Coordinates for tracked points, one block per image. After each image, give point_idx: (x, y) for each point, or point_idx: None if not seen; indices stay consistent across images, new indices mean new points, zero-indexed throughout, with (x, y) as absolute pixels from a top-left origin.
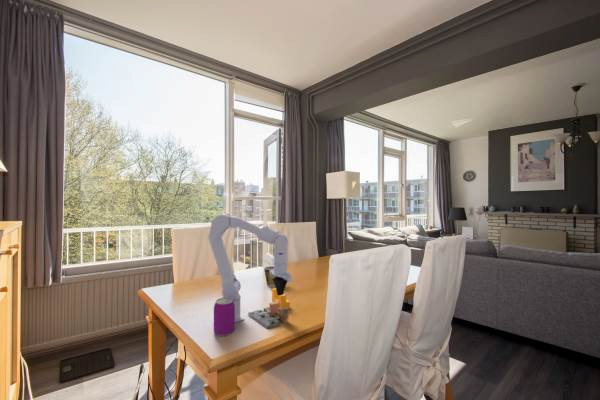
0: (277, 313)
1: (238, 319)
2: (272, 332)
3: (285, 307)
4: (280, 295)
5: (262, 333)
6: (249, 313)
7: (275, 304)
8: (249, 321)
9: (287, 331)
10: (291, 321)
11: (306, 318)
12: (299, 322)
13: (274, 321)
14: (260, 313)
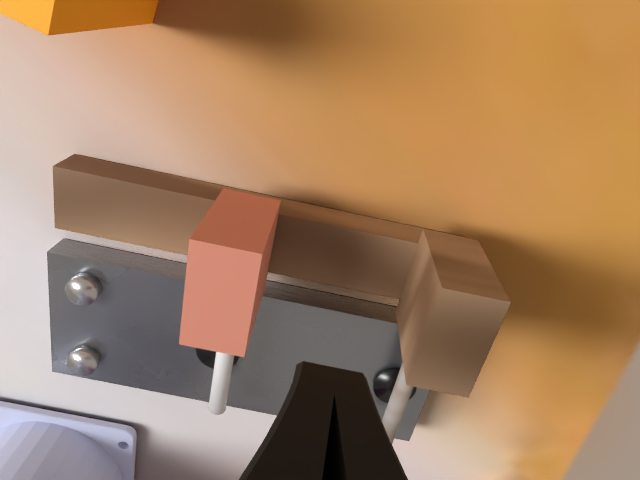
0: (288, 229)
1: (116, 464)
2: (479, 434)
3: (452, 306)
4: (12, 16)
5: (426, 476)
6: (77, 375)
7: (255, 305)
8: (185, 415)
9: (579, 363)
10: (491, 196)
11: (611, 5)
12: (585, 159)
13: (397, 360)
14: (146, 319)
